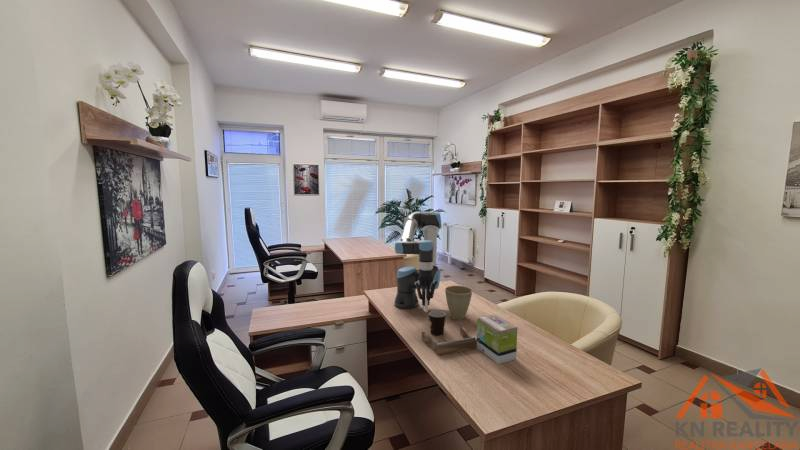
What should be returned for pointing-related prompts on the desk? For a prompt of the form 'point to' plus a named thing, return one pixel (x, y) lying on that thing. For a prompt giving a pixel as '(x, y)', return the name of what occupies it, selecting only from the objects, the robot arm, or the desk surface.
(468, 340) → the organizer
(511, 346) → the tea box
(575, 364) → the desk surface
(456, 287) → the plant pot
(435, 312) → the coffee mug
